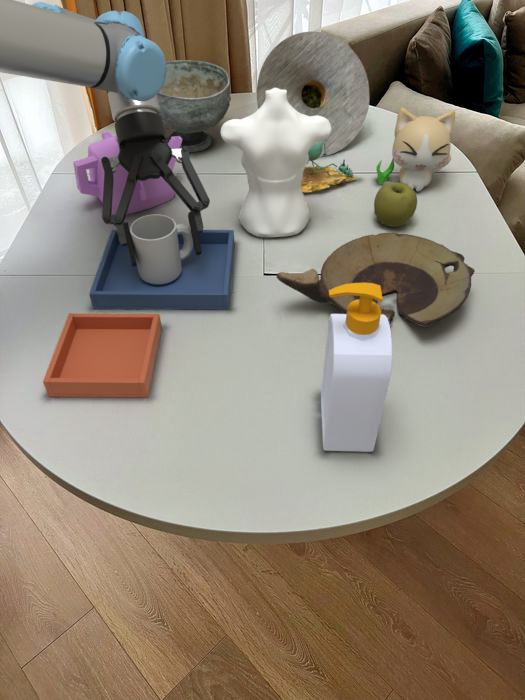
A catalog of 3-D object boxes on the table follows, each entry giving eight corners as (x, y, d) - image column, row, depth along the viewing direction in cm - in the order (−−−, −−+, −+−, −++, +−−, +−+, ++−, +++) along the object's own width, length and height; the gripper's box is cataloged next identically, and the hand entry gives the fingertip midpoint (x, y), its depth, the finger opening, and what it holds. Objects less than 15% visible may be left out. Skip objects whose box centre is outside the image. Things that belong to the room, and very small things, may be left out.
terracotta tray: (49, 396, 77) (42, 382, 75) (73, 328, 86) (68, 313, 84) (147, 397, 77) (144, 382, 75) (162, 328, 86) (159, 313, 84)
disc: (364, 158, 138) (342, 55, 135) (385, 137, 120) (360, 18, 118) (266, 181, 136) (241, 77, 134) (272, 163, 119) (244, 44, 116)
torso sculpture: (318, 208, 109) (328, 73, 91) (326, 237, 102) (338, 98, 84) (225, 213, 108) (216, 77, 90) (227, 242, 102) (218, 103, 84)
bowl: (214, 170, 120) (209, 98, 109) (133, 156, 124) (121, 86, 114) (246, 130, 133) (244, 63, 122) (171, 119, 137) (163, 54, 127)
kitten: (374, 194, 113) (385, 120, 102) (374, 169, 120) (384, 98, 109) (450, 199, 111) (470, 124, 100) (446, 174, 118) (463, 101, 107)
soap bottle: (314, 396, 77) (327, 260, 60) (366, 397, 76) (393, 261, 60) (317, 452, 70) (331, 317, 54) (373, 453, 70) (405, 318, 54)
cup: (132, 267, 95) (122, 222, 89) (186, 249, 99) (181, 204, 92) (148, 291, 91) (139, 245, 84) (204, 271, 94) (200, 226, 88)
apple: (379, 236, 103) (385, 202, 97) (365, 213, 108) (370, 179, 103) (418, 231, 104) (426, 197, 98) (402, 208, 109) (409, 174, 104)
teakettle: (78, 213, 109) (61, 153, 100) (112, 170, 120) (99, 113, 111) (161, 223, 106) (152, 162, 97) (188, 178, 118) (182, 120, 109)
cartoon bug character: (357, 198, 112) (357, 126, 101) (268, 202, 115) (259, 132, 104) (358, 174, 118) (358, 103, 108) (273, 178, 121) (265, 109, 111)
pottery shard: (474, 354, 82) (489, 315, 76) (271, 332, 85) (271, 293, 80) (462, 261, 97) (473, 223, 92) (289, 246, 101) (291, 208, 95)
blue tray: (93, 308, 89) (88, 294, 87) (115, 243, 102) (111, 229, 99) (228, 309, 89) (227, 294, 87) (234, 244, 101) (233, 229, 99)
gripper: (204, 120, 94) (231, 251, 95) (68, 137, 90) (98, 274, 91) (209, 100, 87) (238, 243, 88) (61, 118, 83) (93, 268, 84)
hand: (167, 259), depth 89 cm, fingers closed on cup, 10 cm apart
